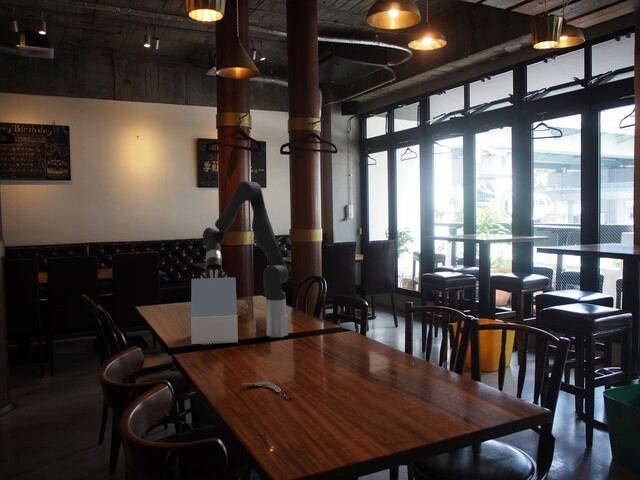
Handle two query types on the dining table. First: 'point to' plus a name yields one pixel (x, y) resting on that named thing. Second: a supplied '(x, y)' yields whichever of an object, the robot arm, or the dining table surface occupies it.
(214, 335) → the carton
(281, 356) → the dining table surface
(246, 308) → the tin
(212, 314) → the lid flap
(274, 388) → the jawbone
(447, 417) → the dining table surface
